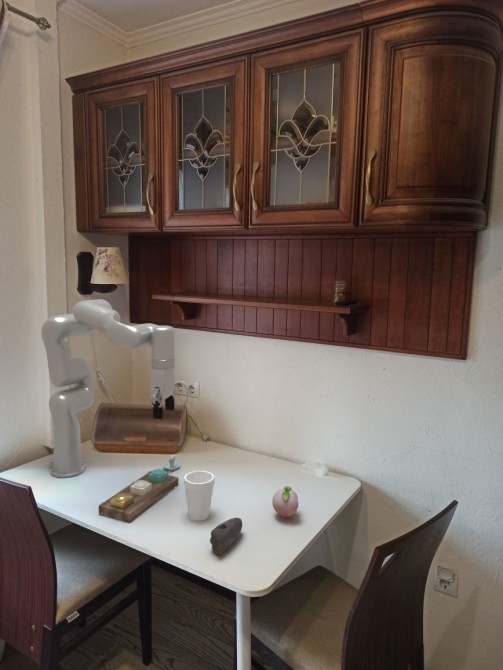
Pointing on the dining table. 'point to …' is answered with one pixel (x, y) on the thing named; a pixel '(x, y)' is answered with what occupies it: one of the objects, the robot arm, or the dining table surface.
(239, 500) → the dining table surface
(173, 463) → the pacifier
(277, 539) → the dining table surface
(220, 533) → the perforated stone tool
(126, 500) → the brass button
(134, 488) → the cream button
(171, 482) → the button panel
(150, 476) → the teal button
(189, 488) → the foam cup
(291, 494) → the decorative fruit
